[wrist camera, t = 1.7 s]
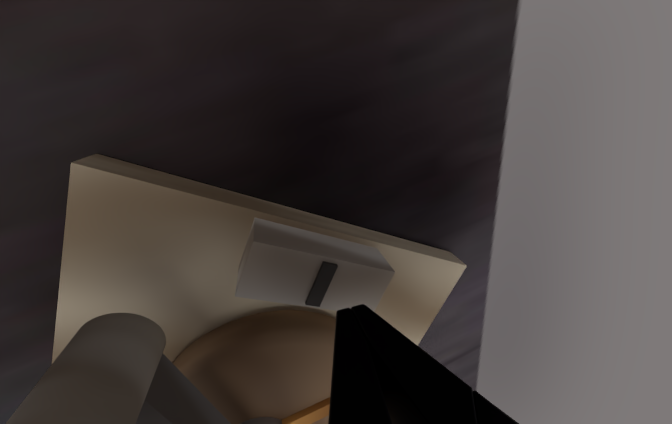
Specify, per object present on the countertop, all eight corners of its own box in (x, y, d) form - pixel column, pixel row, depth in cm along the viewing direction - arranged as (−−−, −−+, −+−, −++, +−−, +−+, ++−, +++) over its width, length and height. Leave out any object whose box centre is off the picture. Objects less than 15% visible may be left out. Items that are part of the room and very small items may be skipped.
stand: (341, 437, 22) (355, 498, 18) (59, 453, 15) (3, 553, 12) (450, 252, 16) (496, 290, 13) (96, 153, 10) (16, 181, 7)
